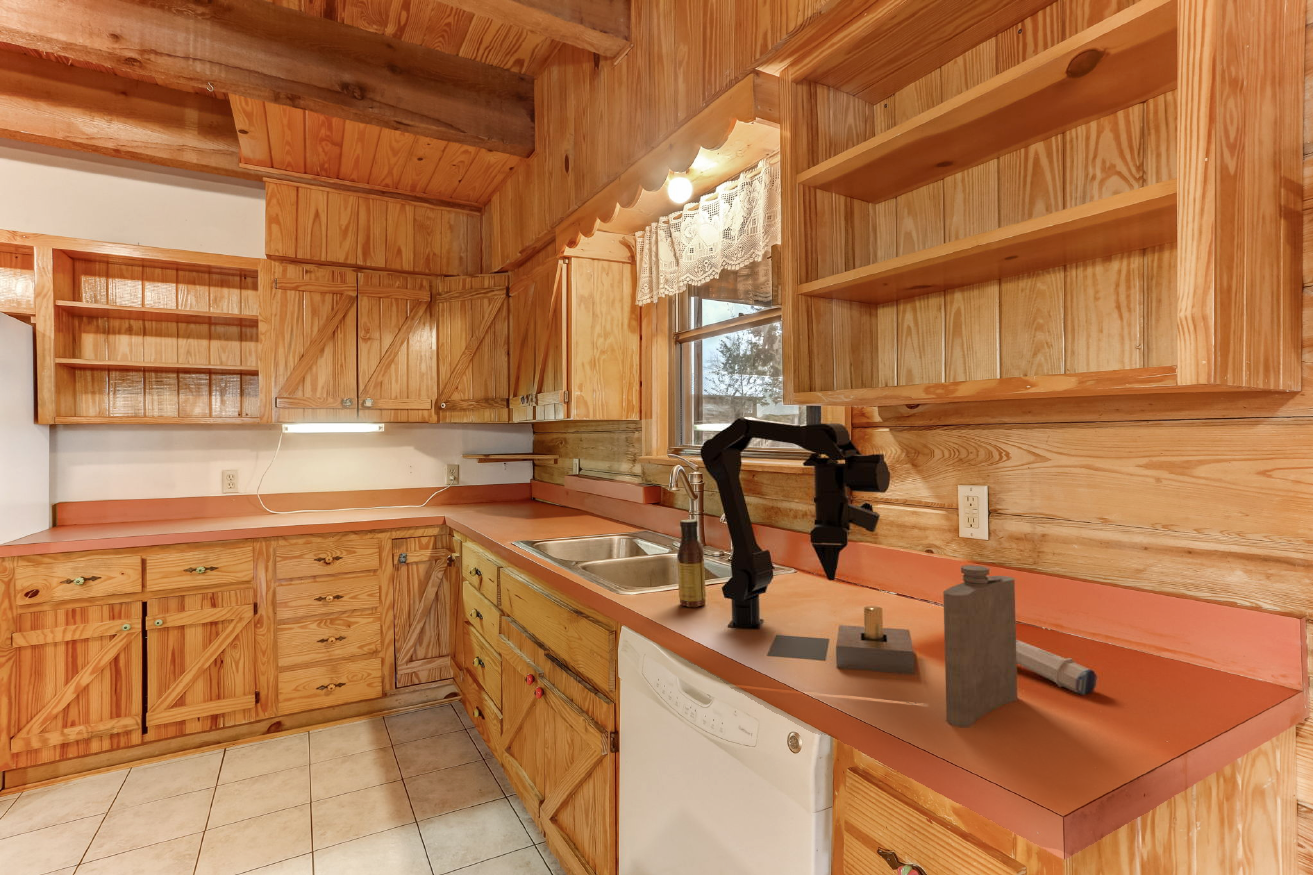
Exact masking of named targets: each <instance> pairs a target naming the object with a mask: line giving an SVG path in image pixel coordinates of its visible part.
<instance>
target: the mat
mask: <svg viewBox="0 0 1313 875" xmlns="http://www.w3.org/2000/svg"><path fill="white" fill-rule="evenodd" d="M829 643H830V638H826V637H825V638H823V637H811V636H797V635H785V634H783V635H782V634H775V636H774V638H773V640H772V644H771V646H770V648H769V649H768V652H767V654H766V656H767V657H779V658H790V659H799V660H800V659H803V660H813V661H826V659H827V654H828V649H829Z"/></svg>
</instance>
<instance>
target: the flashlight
mask: <svg viewBox="0 0 1313 875" xmlns="http://www.w3.org/2000/svg"><path fill="white" fill-rule="evenodd" d="M1016 661H1017V664H1018V665H1020V666H1022V667H1024V668H1026V669H1027V670H1030V671H1032V672H1034V673H1035V674H1038V675H1040V676H1042V677H1044V678H1046V679H1048V680H1050V681H1052V682H1054V683H1055V684H1056V685H1057V687H1059V688H1062V687H1064V688H1066V689H1068V690H1070V691H1072V692H1074V693H1077V694H1078V695H1082V696H1084V695H1088V694H1092V693H1093V691H1094V690H1095V688H1097V681H1098V675H1097V674H1096V673H1095V671H1094V670H1092V669H1090V668H1087V667H1085V666H1084V665H1081V664H1079V663H1076V662H1075V661H1074V660H1073V658H1071V657H1068V658H1065V657H1063V656H1059V655H1058V654H1055V653H1052V652H1049V651H1047V650H1045V649H1043V648H1042V649H1041V648H1039V647H1036V646H1034V645H1032V644H1030V643H1026V642H1024V641H1021V640H1019V639H1016Z"/></svg>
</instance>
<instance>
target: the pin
mask: <svg viewBox="0 0 1313 875" xmlns="http://www.w3.org/2000/svg"><path fill="white" fill-rule="evenodd" d="M863 616H864V617H863V618H864V619H863V623H864V624H863V625H864V626H863V627H864V631H865V641H877V642H883V628H884V627H883V626H884V624H883V623H884V621H883V620H884V617H883V608H882V607H880V606H877V605H875V606H872V605H869V606H868V605H867V606H865V607H863Z"/></svg>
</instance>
